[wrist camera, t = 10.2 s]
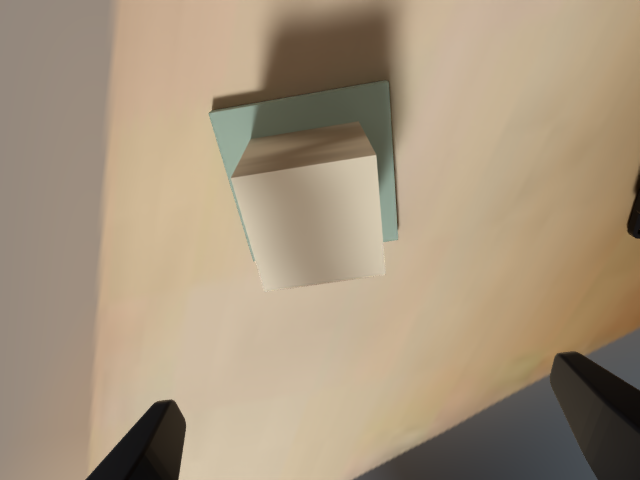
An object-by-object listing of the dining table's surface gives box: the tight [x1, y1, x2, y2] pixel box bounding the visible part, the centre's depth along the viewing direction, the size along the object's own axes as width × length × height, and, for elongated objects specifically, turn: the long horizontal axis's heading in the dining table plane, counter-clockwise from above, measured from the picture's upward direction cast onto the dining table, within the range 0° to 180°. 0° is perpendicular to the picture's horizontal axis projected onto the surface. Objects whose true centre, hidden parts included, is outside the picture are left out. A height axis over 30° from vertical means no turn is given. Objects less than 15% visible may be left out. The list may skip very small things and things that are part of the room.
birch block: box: [231, 121, 386, 292], centre depth 16 cm, size 5×5×5 cm
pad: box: [209, 80, 398, 261], centre depth 18 cm, size 8×8×1 cm
